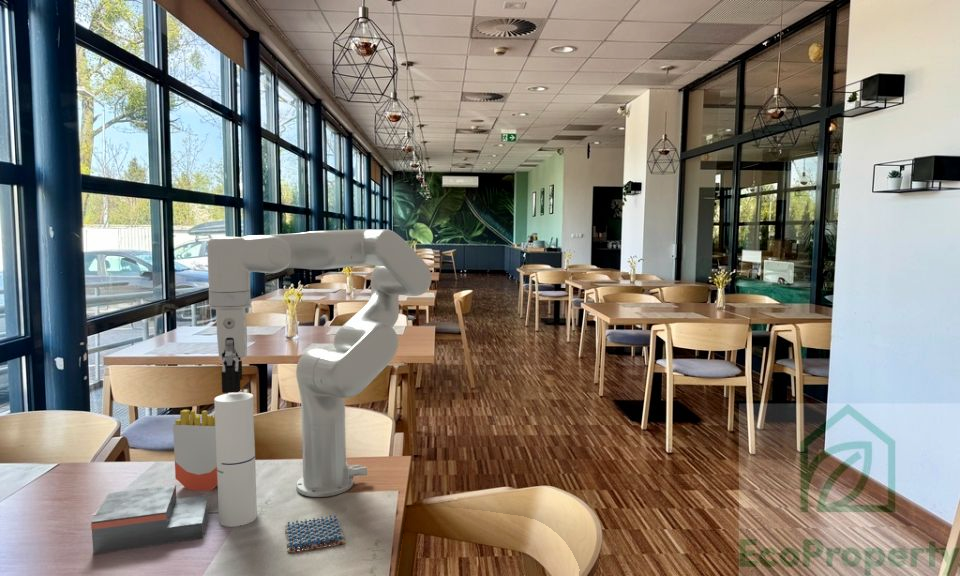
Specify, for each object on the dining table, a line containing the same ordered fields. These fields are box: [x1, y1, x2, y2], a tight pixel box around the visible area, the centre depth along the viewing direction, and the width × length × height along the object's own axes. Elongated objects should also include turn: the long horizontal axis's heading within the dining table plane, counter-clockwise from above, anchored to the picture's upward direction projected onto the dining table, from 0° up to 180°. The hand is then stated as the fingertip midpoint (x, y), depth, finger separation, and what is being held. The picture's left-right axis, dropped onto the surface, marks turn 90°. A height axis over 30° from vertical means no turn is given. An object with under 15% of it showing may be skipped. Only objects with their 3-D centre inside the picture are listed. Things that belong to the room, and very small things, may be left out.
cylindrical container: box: [214, 391, 258, 528], centre depth 123 cm, size 7×7×25 cm
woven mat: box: [284, 515, 346, 554], centre depth 117 cm, size 10×11×2 cm
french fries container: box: [172, 409, 218, 491], centre depth 139 cm, size 5×11×18 cm, turn 85°
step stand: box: [90, 484, 210, 555], centre depth 119 cm, size 18×13×6 cm
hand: (232, 386), depth 122 cm, fingers open, 9 cm apart
